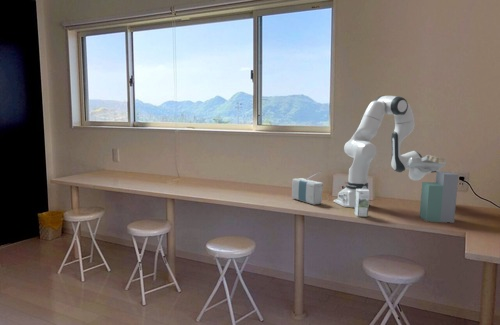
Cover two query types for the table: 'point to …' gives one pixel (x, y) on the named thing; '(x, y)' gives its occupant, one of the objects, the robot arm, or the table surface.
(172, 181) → the table surface
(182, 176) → the table surface
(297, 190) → the stereo radio cassette player
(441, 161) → the ash rod
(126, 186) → the table surface
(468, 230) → the table surface
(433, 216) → the stepped riser
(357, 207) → the syrup box
